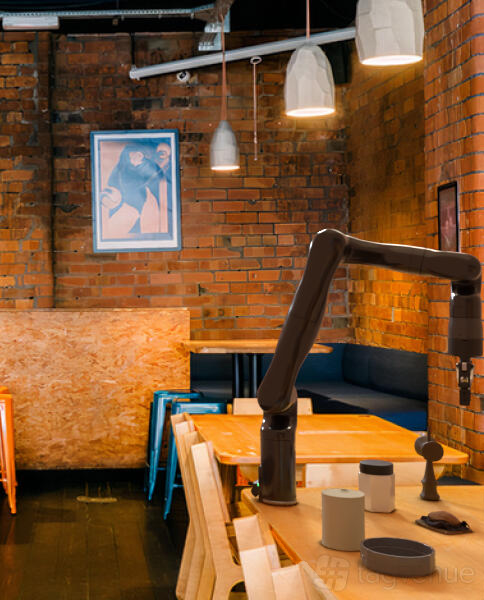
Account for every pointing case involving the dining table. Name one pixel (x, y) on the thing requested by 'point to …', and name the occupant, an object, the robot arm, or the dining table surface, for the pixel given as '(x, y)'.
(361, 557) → the pan
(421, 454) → the kendama
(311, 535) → the dining table surface
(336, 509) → the can
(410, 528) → the dining table surface
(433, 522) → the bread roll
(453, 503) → the dining table surface
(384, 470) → the jar
